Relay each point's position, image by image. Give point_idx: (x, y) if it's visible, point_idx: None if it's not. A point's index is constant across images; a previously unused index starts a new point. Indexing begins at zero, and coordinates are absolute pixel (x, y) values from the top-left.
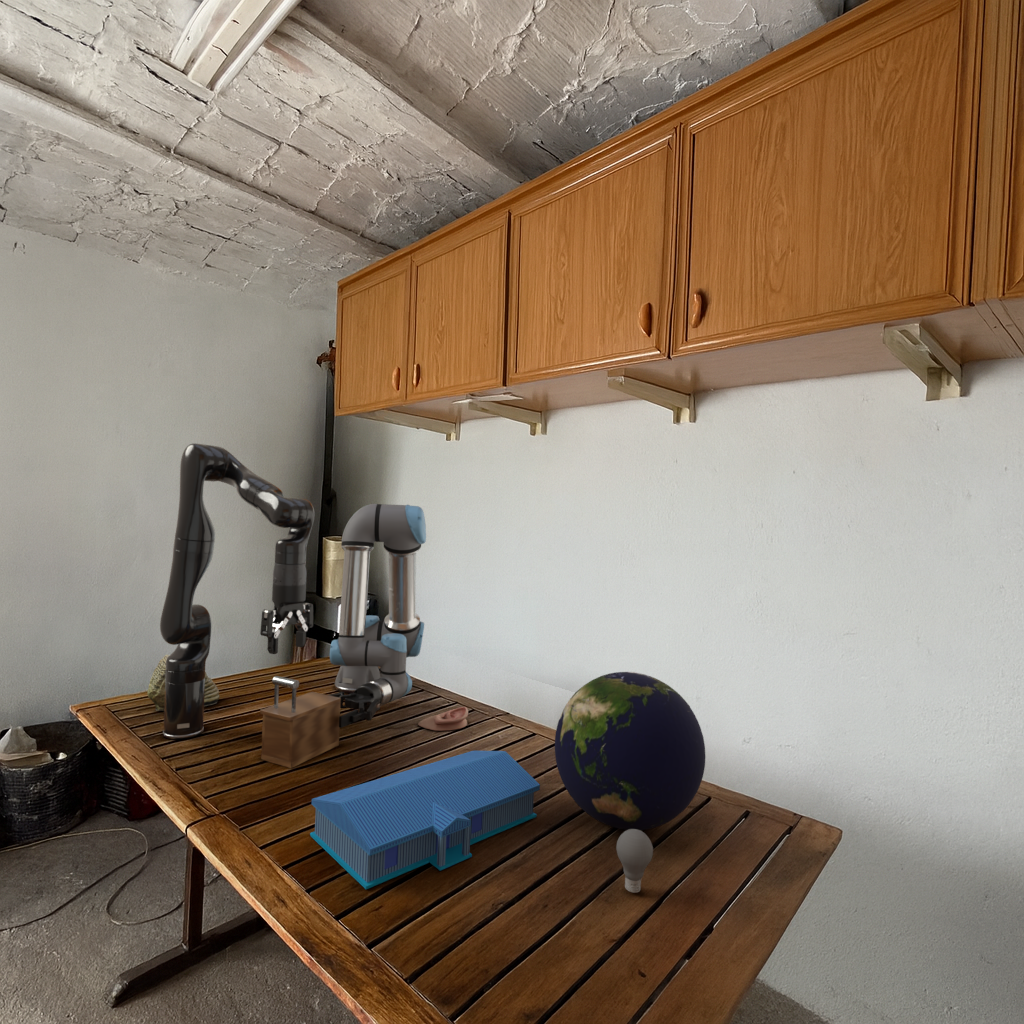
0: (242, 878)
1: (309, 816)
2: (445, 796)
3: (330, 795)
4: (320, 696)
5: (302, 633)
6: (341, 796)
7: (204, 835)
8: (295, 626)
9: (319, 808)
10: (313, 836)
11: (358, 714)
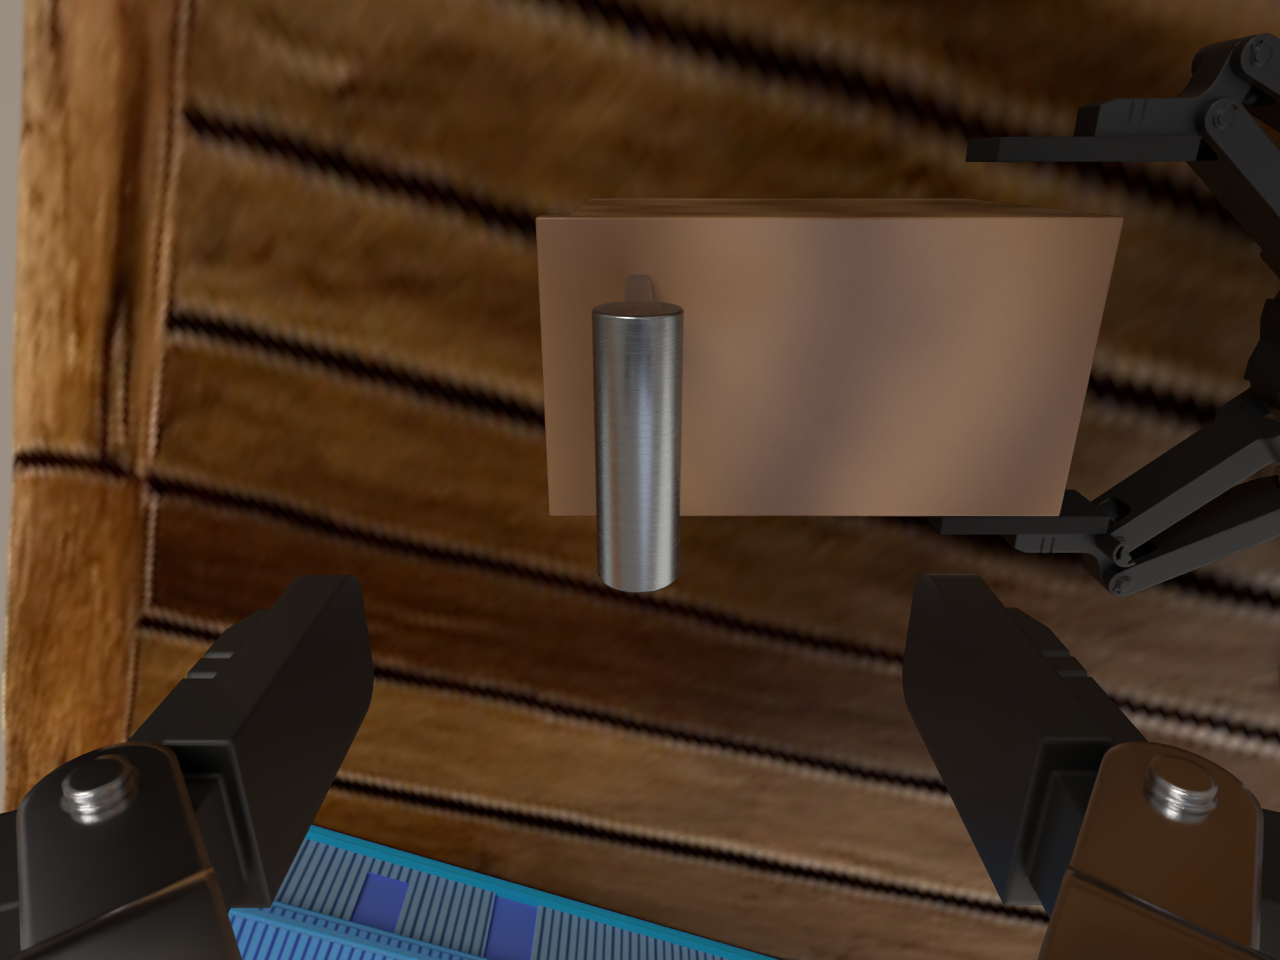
0: (13, 805)
1: None
2: None
3: (259, 956)
4: (1031, 371)
5: (996, 870)
6: None
7: (31, 558)
8: (1078, 836)
9: None
10: None
11: (1062, 548)
